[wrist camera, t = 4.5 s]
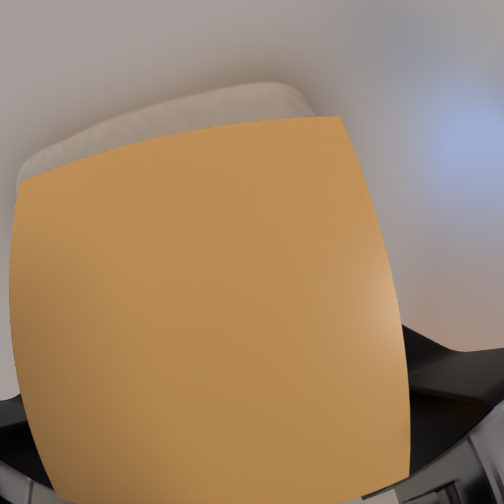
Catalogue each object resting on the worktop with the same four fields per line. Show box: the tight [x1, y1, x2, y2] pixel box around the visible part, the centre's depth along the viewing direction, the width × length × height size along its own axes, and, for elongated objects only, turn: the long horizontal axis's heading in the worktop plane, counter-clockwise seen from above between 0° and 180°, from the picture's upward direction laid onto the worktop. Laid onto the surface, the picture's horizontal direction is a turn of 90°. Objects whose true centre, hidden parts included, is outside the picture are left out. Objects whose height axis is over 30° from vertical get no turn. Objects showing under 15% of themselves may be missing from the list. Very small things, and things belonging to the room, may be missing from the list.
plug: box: [9, 117, 410, 504], centre depth 9 cm, size 4×4×13 cm
